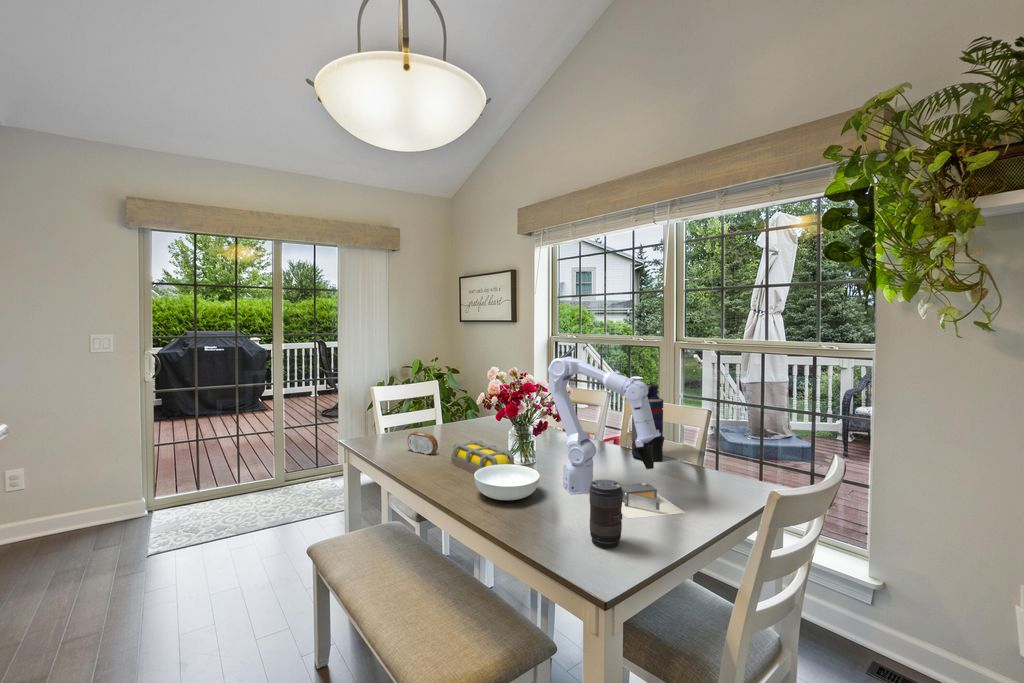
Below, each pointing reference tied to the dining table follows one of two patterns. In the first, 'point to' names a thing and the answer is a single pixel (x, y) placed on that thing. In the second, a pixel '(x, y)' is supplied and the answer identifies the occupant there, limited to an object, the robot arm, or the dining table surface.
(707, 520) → the dining table surface
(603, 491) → the camera lens
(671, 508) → the mat
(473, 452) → the cage light
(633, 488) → the grey and orange box
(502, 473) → the serving bowl
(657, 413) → the grenade
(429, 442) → the tin
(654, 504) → the door
